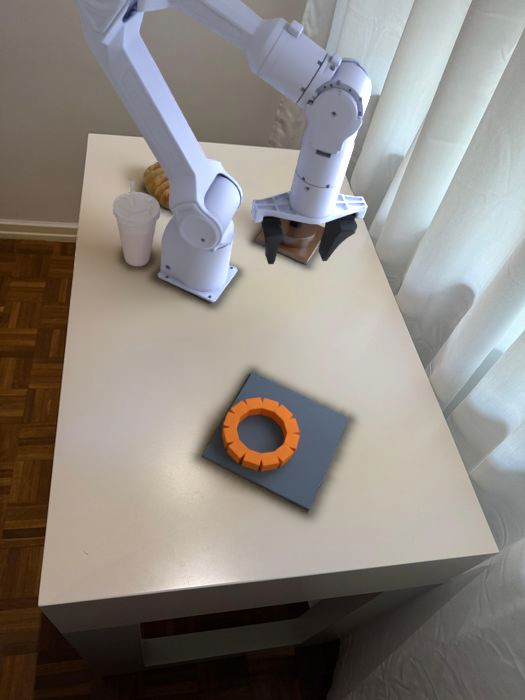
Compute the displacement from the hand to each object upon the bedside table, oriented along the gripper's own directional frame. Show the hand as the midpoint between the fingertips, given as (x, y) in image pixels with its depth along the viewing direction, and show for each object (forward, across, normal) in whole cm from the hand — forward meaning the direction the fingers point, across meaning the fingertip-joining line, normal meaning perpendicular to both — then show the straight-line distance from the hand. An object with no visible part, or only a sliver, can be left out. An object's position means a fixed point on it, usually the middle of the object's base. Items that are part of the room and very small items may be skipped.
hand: (296, 257), depth 78 cm
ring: (+9, +9, +21) cm, 25 cm away
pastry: (+9, +13, -26) cm, 31 cm away
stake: (+9, -5, -14) cm, 18 cm away
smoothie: (+9, +20, -11) cm, 25 cm away
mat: (+10, +6, +22) cm, 24 cm away
